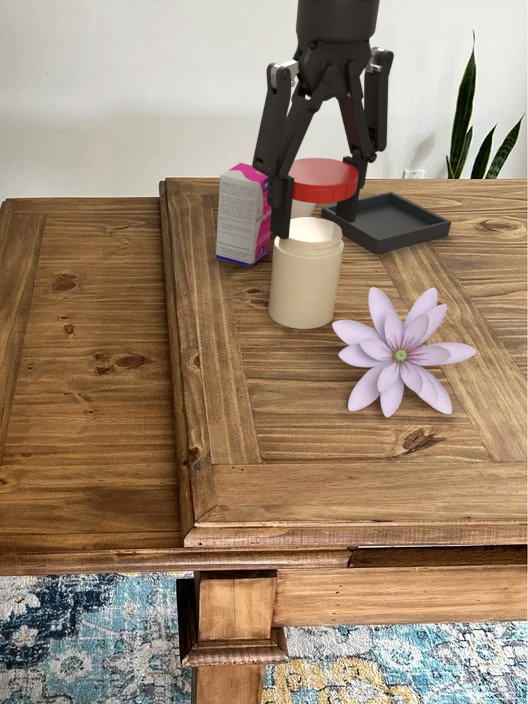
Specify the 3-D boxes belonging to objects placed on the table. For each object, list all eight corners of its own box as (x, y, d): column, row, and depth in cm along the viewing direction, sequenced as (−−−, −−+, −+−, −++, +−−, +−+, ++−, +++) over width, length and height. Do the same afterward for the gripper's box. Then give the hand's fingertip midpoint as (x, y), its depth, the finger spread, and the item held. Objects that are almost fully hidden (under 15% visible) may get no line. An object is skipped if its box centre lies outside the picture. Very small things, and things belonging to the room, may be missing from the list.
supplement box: (252, 268, 99) (258, 183, 91) (214, 259, 101) (216, 174, 94) (271, 252, 103) (278, 168, 95) (233, 243, 105) (237, 161, 97)
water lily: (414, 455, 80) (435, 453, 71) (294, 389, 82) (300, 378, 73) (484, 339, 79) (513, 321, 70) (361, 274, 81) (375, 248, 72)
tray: (448, 235, 106) (451, 221, 105) (375, 254, 102) (378, 240, 100) (388, 204, 115) (391, 191, 114) (319, 221, 111) (321, 207, 109)
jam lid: (263, 183, 82) (264, 166, 80) (325, 170, 84) (327, 153, 83) (306, 209, 76) (308, 191, 75) (371, 194, 79) (374, 176, 77)
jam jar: (346, 319, 89) (361, 235, 82) (291, 335, 86) (301, 249, 79) (308, 291, 94) (318, 210, 87) (255, 306, 92) (262, 223, 84)
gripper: (402, -28, 74) (366, 197, 89) (220, -7, 67) (215, 233, 82) (456, -18, 69) (408, 219, 84) (265, 6, 62) (250, 259, 77)
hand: (312, 226), depth 83 cm, fingers closed on jam lid, 8 cm apart
